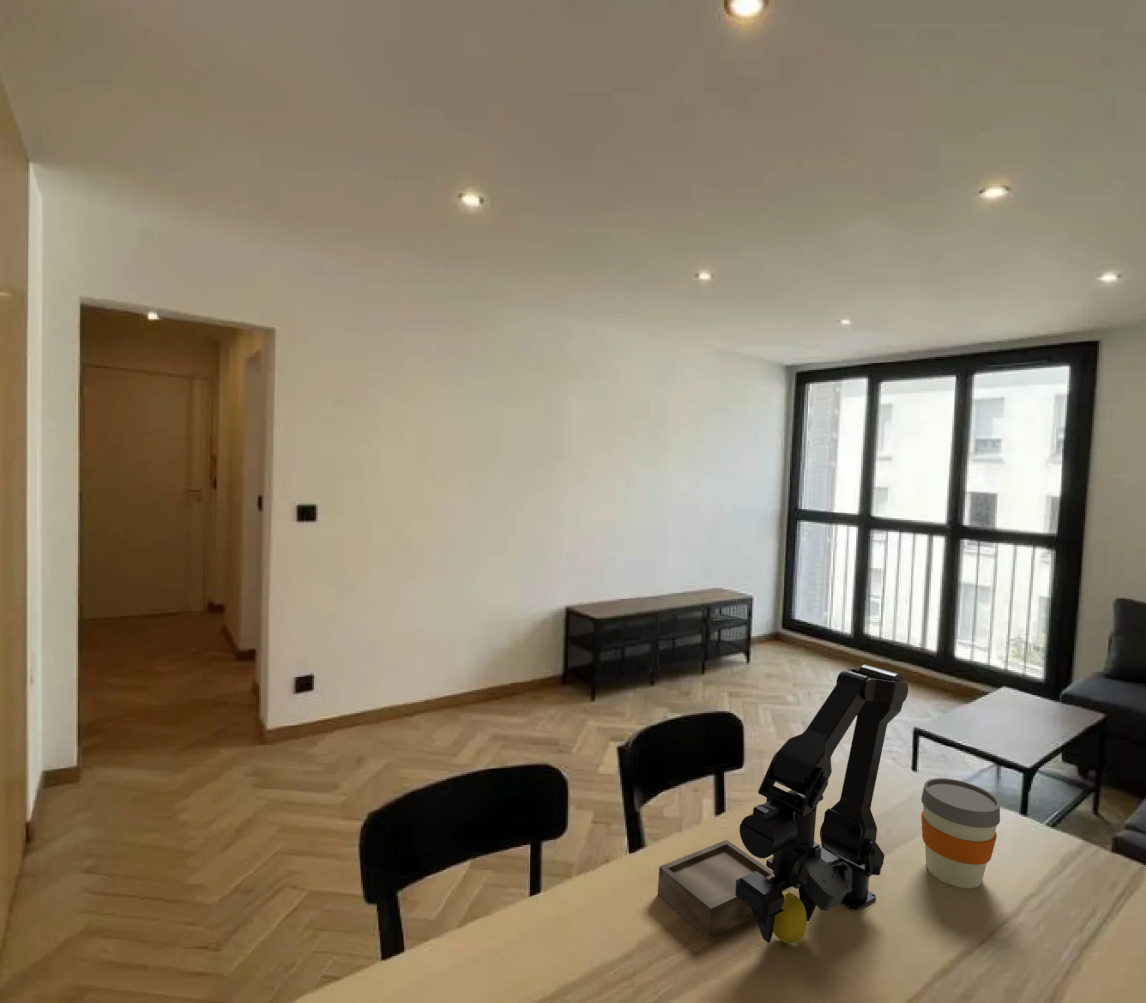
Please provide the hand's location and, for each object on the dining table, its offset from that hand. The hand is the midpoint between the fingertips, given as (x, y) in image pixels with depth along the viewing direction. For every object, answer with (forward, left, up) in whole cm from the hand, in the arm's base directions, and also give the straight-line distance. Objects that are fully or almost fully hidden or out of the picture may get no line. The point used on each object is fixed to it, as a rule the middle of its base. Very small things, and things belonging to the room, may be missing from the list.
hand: (786, 930), depth 104 cm
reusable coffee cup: (-42, +4, -2) cm, 42 cm away
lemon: (0, 0, -2) cm, 2 cm away
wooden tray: (+2, -12, -2) cm, 13 cm away
